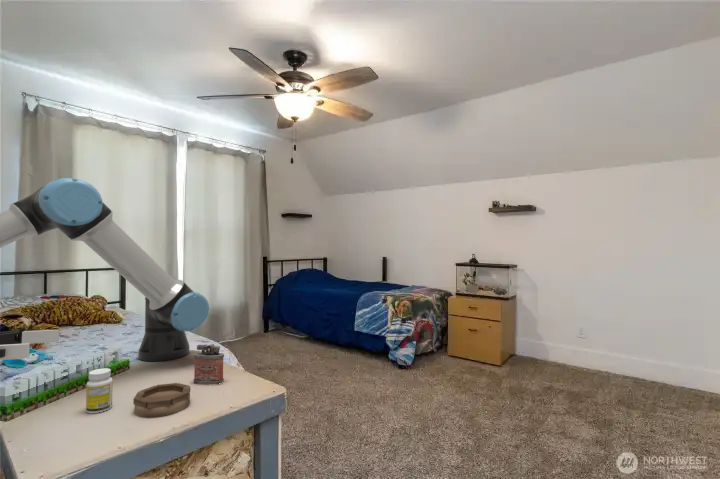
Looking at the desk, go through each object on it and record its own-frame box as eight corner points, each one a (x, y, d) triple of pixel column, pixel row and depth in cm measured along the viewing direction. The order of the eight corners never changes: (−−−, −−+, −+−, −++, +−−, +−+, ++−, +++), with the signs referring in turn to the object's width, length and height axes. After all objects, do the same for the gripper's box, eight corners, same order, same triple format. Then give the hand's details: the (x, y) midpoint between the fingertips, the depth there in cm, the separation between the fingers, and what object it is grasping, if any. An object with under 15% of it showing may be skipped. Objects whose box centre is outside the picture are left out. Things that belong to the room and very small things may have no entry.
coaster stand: (140, 400, 87) (140, 386, 87) (191, 394, 90) (192, 381, 90) (128, 420, 76) (129, 405, 76) (187, 413, 80) (187, 398, 80)
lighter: (226, 380, 100) (226, 343, 100) (220, 385, 96) (220, 346, 97) (197, 379, 101) (198, 342, 101) (190, 384, 97) (191, 345, 98)
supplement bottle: (94, 405, 84) (95, 367, 84) (116, 404, 84) (117, 367, 84) (80, 414, 79) (81, 374, 79) (104, 413, 79) (104, 374, 80)
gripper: (-48, 353, 83) (67, 346, 90) (-155, 393, 59) (11, 379, 67) (-46, 319, 83) (68, 315, 90) (-152, 346, 60) (13, 337, 67)
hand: (44, 342), depth 78 cm, fingers open, 13 cm apart
